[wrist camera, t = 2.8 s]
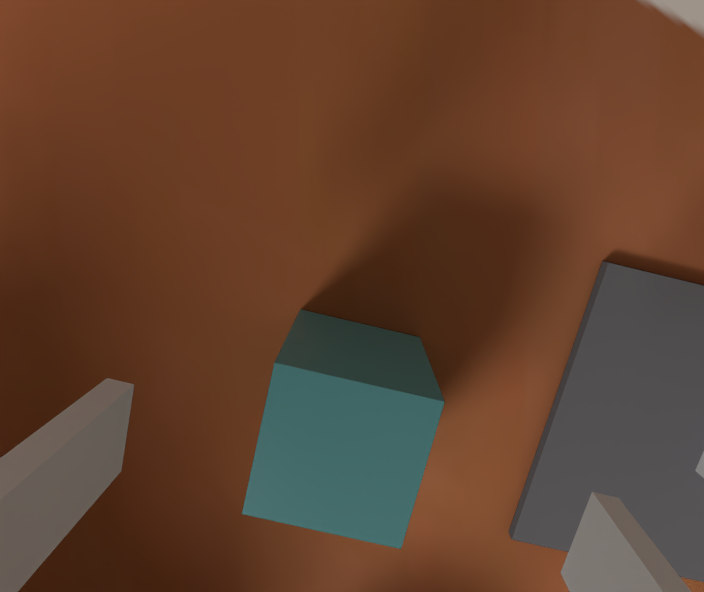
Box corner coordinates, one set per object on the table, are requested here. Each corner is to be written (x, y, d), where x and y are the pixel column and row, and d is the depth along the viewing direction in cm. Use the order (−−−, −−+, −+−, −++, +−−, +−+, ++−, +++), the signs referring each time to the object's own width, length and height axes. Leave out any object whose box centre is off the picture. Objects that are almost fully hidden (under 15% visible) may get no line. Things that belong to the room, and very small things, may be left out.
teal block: (275, 420, 23) (241, 514, 16) (300, 309, 22) (274, 362, 15) (389, 445, 23) (401, 549, 16) (419, 337, 22) (444, 401, 15)
